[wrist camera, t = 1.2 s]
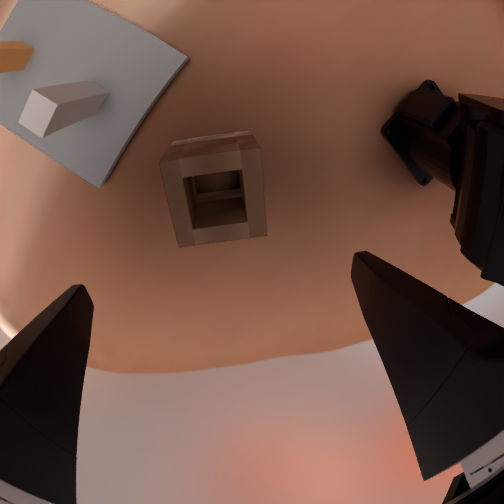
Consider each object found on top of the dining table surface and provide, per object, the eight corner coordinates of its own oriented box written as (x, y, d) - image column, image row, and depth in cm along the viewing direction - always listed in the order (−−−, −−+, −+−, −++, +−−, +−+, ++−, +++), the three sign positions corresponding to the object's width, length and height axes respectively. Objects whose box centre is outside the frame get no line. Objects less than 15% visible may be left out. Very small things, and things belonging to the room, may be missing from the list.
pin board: (189, 58, 15) (170, 45, 8) (106, 181, 18) (57, 241, 12) (42, -18, 9) (-24, -36, 2) (-18, 99, 12) (-89, 126, 6)
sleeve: (249, 130, 18) (260, 147, 14) (255, 199, 21) (267, 235, 17) (172, 141, 18) (159, 162, 14) (185, 209, 20) (178, 247, 16)
